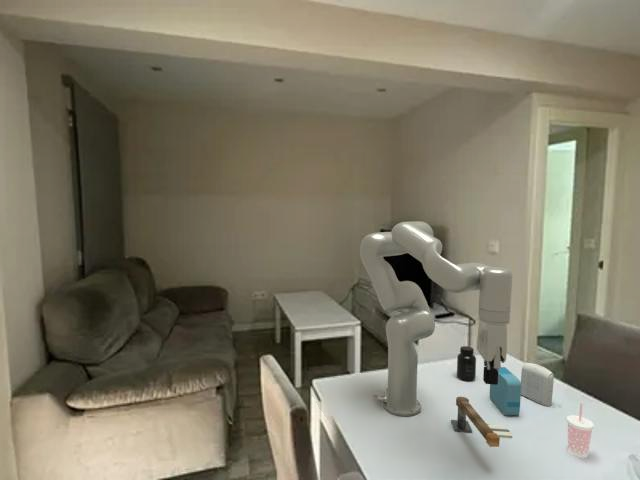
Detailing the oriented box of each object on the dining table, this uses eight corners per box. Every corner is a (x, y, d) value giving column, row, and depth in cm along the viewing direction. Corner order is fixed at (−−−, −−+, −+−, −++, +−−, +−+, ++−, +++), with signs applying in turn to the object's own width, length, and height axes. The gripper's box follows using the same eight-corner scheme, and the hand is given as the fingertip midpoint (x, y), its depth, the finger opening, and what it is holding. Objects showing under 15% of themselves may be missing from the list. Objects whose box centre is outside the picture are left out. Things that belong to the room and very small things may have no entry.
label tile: (487, 436, 113) (487, 433, 113) (482, 426, 118) (482, 424, 118) (512, 437, 112) (512, 435, 112) (506, 428, 117) (506, 425, 117)
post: (454, 431, 115) (455, 409, 114) (451, 422, 120) (451, 401, 119) (472, 432, 114) (473, 411, 114) (467, 423, 119) (468, 402, 119)
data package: (519, 417, 123) (521, 381, 122) (505, 417, 123) (507, 381, 122) (501, 398, 135) (503, 365, 134) (488, 398, 135) (490, 365, 134)
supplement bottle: (476, 376, 152) (478, 347, 150) (473, 383, 146) (474, 353, 145) (458, 372, 155) (460, 343, 154) (454, 379, 149) (456, 349, 148)
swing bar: (454, 403, 118) (454, 395, 118) (465, 403, 118) (465, 395, 118) (487, 446, 97) (488, 438, 97) (501, 446, 97) (502, 437, 97)
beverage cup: (566, 442, 110) (569, 395, 109) (592, 451, 106) (596, 403, 105) (562, 453, 105) (566, 404, 104) (590, 462, 102) (594, 412, 100)
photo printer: (554, 404, 131) (556, 369, 130) (547, 407, 129) (549, 372, 128) (524, 391, 140) (526, 358, 139) (517, 394, 138) (519, 361, 136)
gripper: (471, 306, 108) (468, 369, 109) (487, 323, 93) (483, 395, 95) (499, 307, 107) (496, 371, 108) (520, 324, 92) (515, 398, 94)
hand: (490, 382), depth 102 cm, fingers closed
